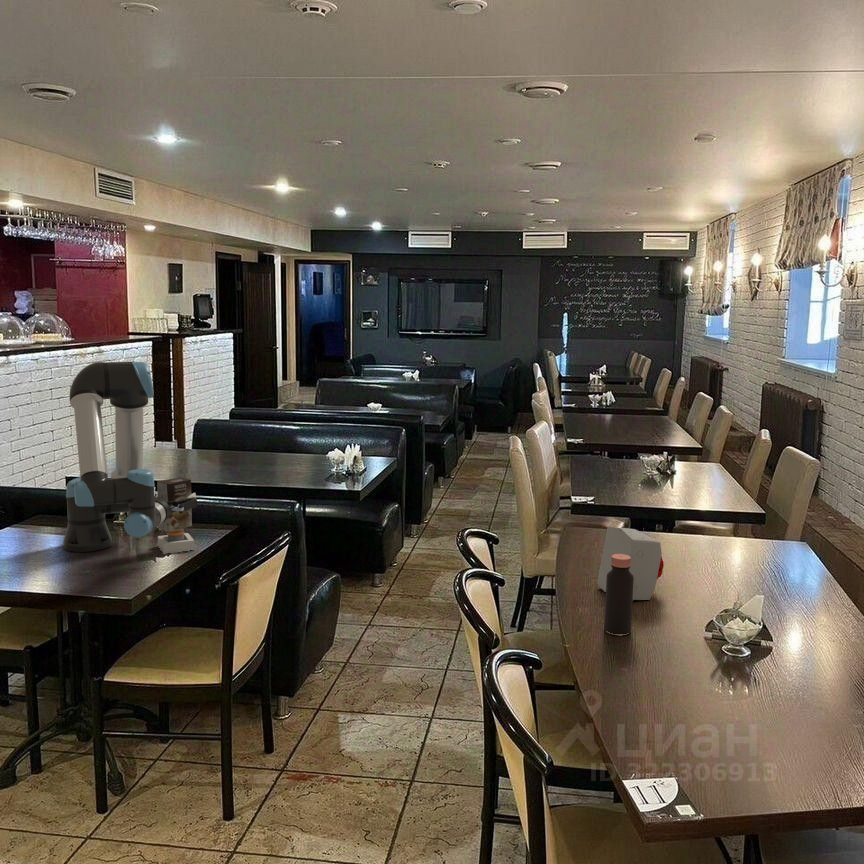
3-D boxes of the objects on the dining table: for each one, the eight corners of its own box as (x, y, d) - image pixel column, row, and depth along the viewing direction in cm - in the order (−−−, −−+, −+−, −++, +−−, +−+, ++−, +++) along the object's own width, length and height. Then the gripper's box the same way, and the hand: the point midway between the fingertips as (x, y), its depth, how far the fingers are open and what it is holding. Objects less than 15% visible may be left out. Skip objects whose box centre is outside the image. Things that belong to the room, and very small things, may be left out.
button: (165, 545, 287) (165, 529, 287) (182, 543, 290) (182, 528, 289) (169, 549, 282) (168, 534, 282) (186, 547, 285) (185, 532, 284)
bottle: (605, 625, 225) (608, 551, 222) (631, 628, 223) (635, 554, 220) (602, 634, 219) (606, 559, 215) (629, 638, 217) (634, 561, 214)
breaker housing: (158, 546, 288) (157, 536, 288) (188, 542, 293) (188, 532, 292) (163, 554, 280) (163, 544, 279) (194, 550, 284) (194, 540, 284)
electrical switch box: (666, 607, 245) (679, 539, 243) (620, 604, 240) (633, 535, 238) (639, 590, 259) (652, 526, 257) (596, 587, 254) (608, 521, 252)
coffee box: (170, 532, 280) (168, 484, 277) (157, 528, 283) (156, 481, 281) (192, 526, 287) (191, 479, 284) (180, 522, 291) (179, 476, 288)
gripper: (119, 523, 267) (146, 506, 289) (190, 526, 266) (212, 508, 288) (118, 500, 266) (145, 484, 288) (190, 502, 265) (211, 486, 287)
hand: (179, 496), depth 288 cm, fingers closed on coffee box, 10 cm apart
